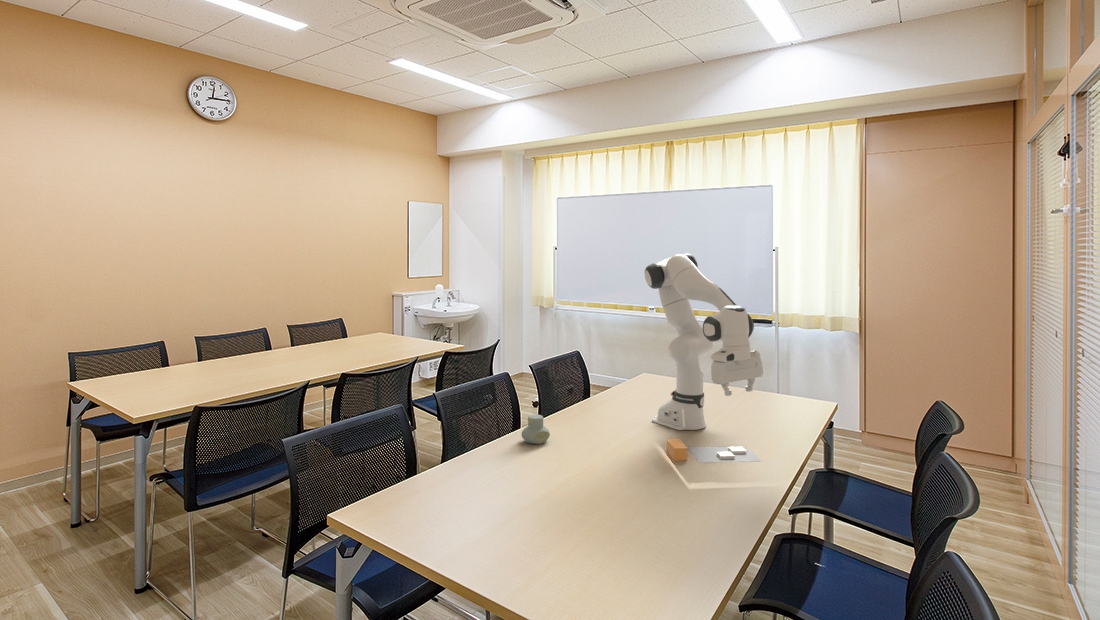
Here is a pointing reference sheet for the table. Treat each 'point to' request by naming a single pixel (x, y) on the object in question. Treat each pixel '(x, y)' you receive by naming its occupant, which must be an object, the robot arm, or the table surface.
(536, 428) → the air freshener
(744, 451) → the mark
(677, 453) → the block
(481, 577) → the table surface
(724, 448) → the board
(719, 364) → the robot arm
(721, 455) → the mark
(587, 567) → the table surface
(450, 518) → the table surface
